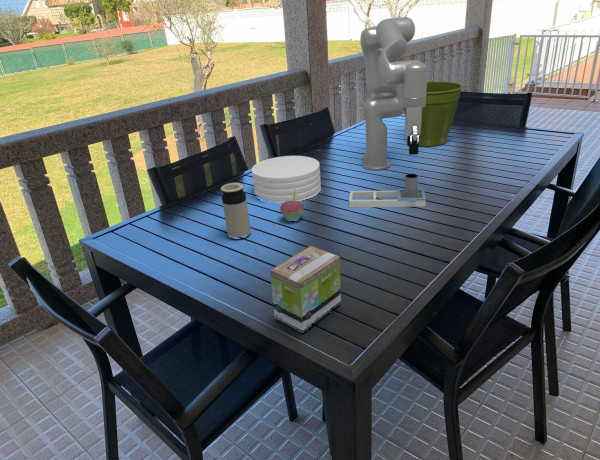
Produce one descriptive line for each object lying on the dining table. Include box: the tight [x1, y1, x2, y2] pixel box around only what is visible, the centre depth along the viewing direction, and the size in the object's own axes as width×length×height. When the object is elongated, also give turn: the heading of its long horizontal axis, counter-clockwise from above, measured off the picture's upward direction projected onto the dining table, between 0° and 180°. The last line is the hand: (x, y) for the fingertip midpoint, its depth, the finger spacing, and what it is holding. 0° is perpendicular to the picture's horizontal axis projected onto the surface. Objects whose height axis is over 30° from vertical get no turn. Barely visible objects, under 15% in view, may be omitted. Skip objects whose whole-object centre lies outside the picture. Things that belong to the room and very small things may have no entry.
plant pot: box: [403, 81, 463, 147], centre depth 229 cm, size 30×30×29 cm
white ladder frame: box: [348, 188, 427, 208], centre depth 169 cm, size 13×28×3 cm, turn 81°
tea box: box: [269, 245, 342, 330], centre depth 108 cm, size 15×10×15 cm, turn 138°
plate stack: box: [251, 155, 322, 203], centre depth 185 cm, size 28×28×12 cm
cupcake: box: [279, 191, 305, 222], centre depth 159 cm, size 9×8×12 cm
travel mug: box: [220, 182, 252, 237], centre depth 150 cm, size 8×8×18 cm
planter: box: [404, 173, 419, 198], centre depth 166 cm, size 4×4×10 cm
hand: (412, 150), depth 159 cm, fingers open, 9 cm apart
